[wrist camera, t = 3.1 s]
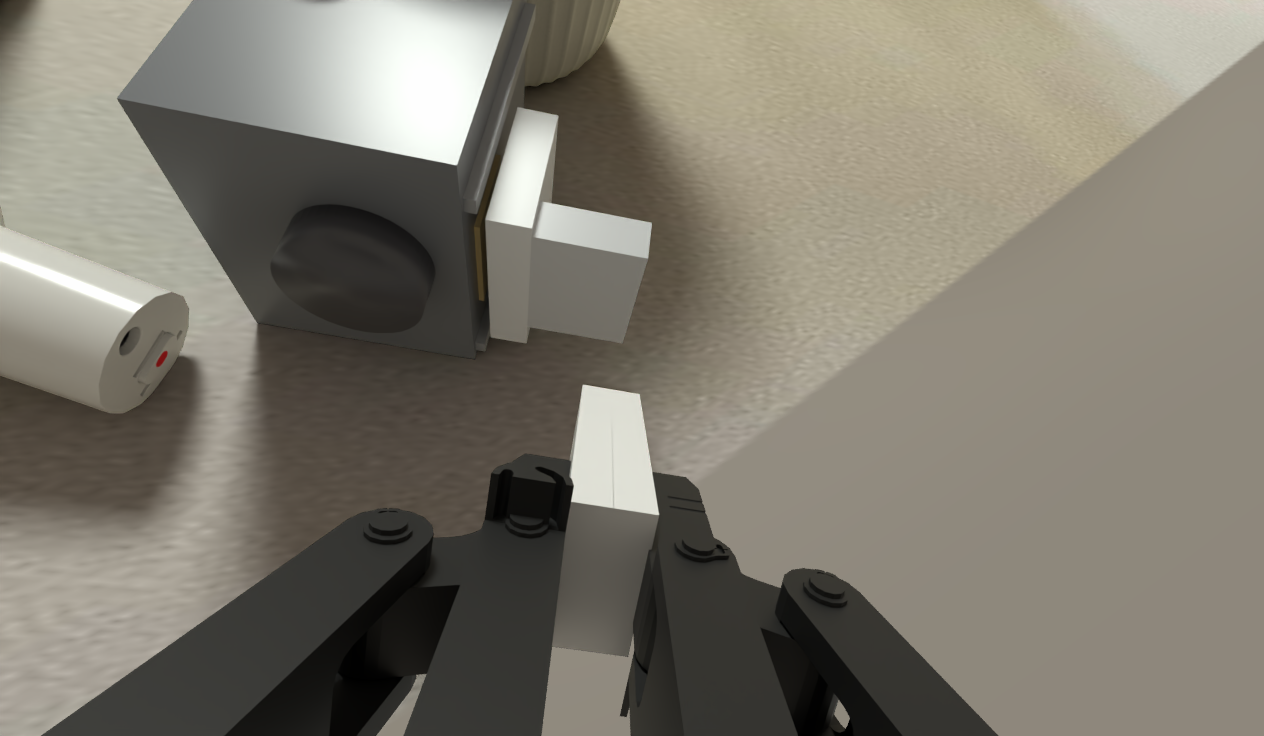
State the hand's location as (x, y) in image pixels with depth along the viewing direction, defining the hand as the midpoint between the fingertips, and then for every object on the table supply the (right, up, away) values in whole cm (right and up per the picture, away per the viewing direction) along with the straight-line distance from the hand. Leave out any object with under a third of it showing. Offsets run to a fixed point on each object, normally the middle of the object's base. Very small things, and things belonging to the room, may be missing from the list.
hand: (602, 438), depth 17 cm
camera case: (-10, +8, +13) cm, 18 cm away
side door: (-2, +5, +11) cm, 13 cm away
